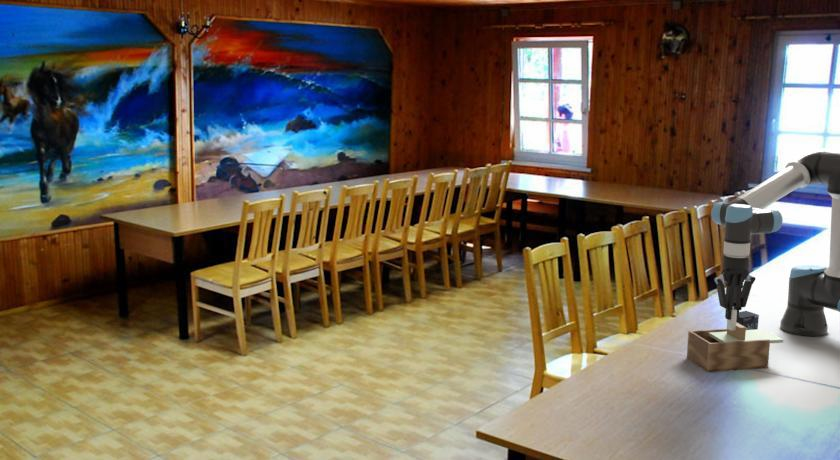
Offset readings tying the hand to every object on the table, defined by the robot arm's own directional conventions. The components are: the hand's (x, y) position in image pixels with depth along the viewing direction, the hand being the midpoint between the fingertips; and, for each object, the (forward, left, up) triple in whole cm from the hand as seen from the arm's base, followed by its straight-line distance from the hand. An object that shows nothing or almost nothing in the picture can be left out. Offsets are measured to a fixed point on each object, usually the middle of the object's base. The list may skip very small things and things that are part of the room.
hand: (731, 329), depth 252 cm
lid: (-5, 0, -4) cm, 6 cm away
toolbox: (+1, 0, -11) cm, 11 cm away
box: (-14, -16, -11) cm, 24 cm away
